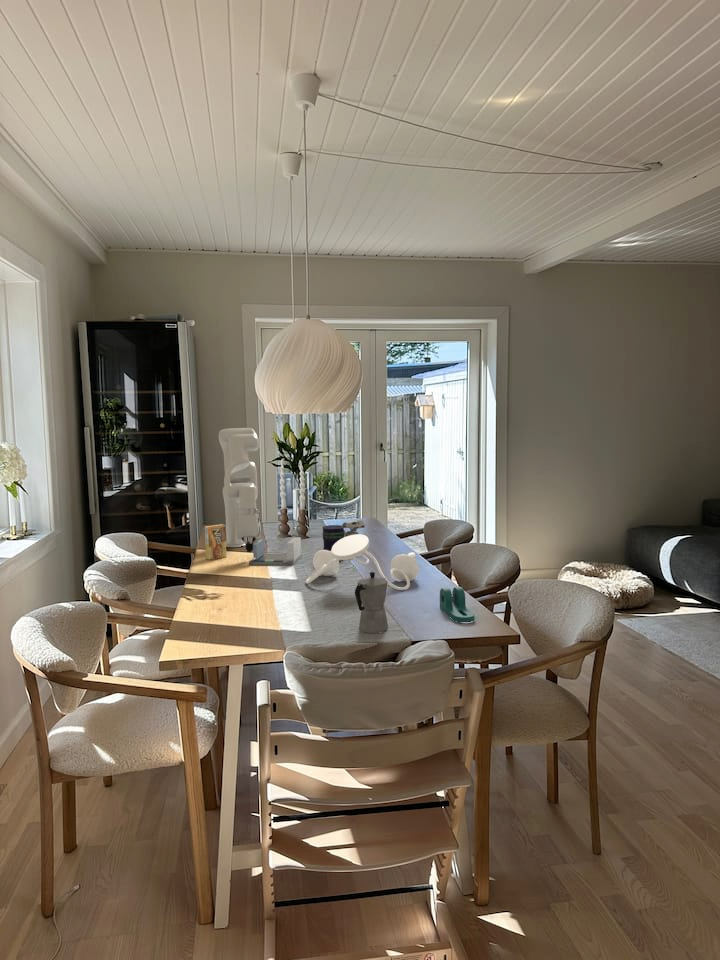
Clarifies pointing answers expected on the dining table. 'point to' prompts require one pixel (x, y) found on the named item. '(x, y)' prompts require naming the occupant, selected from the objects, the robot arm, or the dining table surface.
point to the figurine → (353, 527)
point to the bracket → (455, 604)
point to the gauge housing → (281, 555)
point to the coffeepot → (372, 604)
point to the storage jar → (332, 535)
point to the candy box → (215, 541)
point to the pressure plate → (258, 549)
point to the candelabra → (356, 546)
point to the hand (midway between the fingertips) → (249, 551)
